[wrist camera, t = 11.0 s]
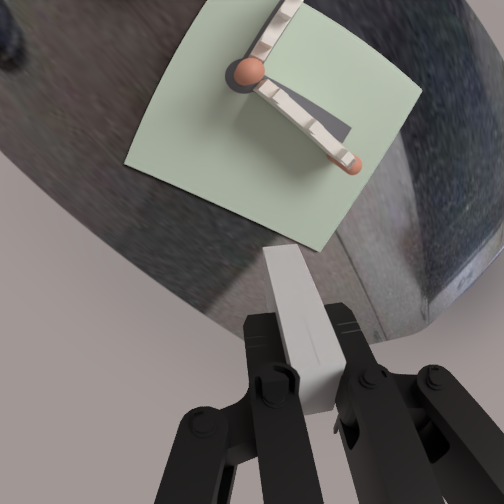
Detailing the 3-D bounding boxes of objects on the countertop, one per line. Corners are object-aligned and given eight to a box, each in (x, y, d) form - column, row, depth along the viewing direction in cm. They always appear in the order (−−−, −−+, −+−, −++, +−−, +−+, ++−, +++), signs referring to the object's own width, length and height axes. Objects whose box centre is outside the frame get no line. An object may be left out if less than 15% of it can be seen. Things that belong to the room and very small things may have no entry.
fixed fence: (229, 80, 26) (231, 76, 19) (286, -10, 21) (306, -37, 14) (248, 89, 27) (256, 88, 20) (304, 0, 22) (329, -24, 15)
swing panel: (250, 92, 26) (257, 92, 21) (262, 78, 26) (273, 75, 20) (334, 165, 30) (358, 184, 25) (346, 153, 30) (372, 169, 24)
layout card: (125, 162, 29) (123, 164, 29) (229, -30, 20) (229, -32, 19) (318, 250, 36) (319, 252, 36) (420, 90, 27) (422, 90, 27)
